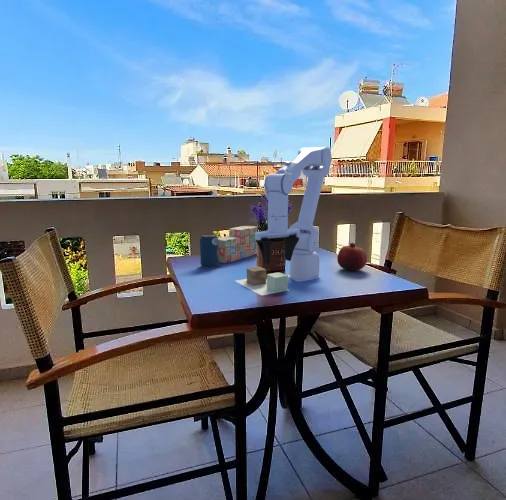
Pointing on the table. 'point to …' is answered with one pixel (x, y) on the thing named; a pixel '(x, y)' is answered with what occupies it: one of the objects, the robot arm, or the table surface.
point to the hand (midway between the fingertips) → (277, 261)
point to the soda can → (209, 251)
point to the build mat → (256, 287)
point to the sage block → (277, 282)
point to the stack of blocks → (237, 244)
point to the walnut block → (256, 275)
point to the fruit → (352, 257)
